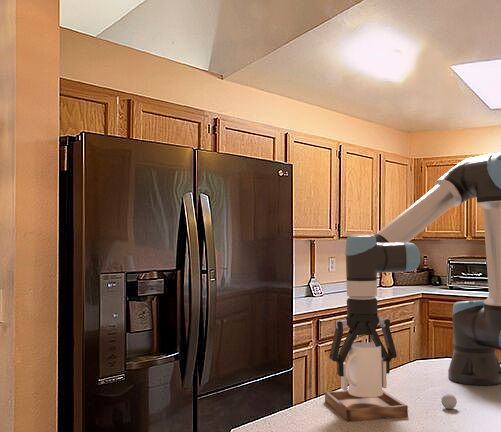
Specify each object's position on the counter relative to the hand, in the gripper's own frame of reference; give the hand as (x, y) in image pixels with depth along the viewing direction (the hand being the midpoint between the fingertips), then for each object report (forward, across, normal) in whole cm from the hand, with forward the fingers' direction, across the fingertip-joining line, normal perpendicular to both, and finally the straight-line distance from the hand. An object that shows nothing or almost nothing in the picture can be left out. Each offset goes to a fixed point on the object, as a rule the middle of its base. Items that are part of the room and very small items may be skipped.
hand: (363, 388), depth 151 cm
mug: (+2, +1, 0) cm, 2 cm away
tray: (+5, 0, 0) cm, 5 cm away
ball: (+5, -20, +5) cm, 21 cm away
